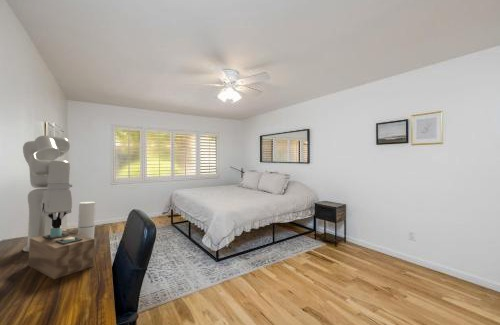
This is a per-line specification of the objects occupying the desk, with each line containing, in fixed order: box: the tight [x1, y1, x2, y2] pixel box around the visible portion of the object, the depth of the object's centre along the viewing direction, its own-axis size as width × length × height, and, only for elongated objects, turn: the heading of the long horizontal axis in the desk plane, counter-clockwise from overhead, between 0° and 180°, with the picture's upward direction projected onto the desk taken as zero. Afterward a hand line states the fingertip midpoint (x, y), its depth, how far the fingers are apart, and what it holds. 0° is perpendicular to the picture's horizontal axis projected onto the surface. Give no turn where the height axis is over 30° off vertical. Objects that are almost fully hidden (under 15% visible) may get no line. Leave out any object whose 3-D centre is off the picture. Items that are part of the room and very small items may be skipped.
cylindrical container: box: [77, 201, 97, 240], centre depth 121 cm, size 7×7×25 cm
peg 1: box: [50, 226, 63, 238], centre depth 103 cm, size 4×4×12 cm
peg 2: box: [63, 237, 75, 242], centre depth 97 cm, size 4×4×12 cm
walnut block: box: [27, 230, 95, 280], centre depth 100 cm, size 14×24×12 cm, turn 62°
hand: (56, 227), depth 103 cm, fingers closed
